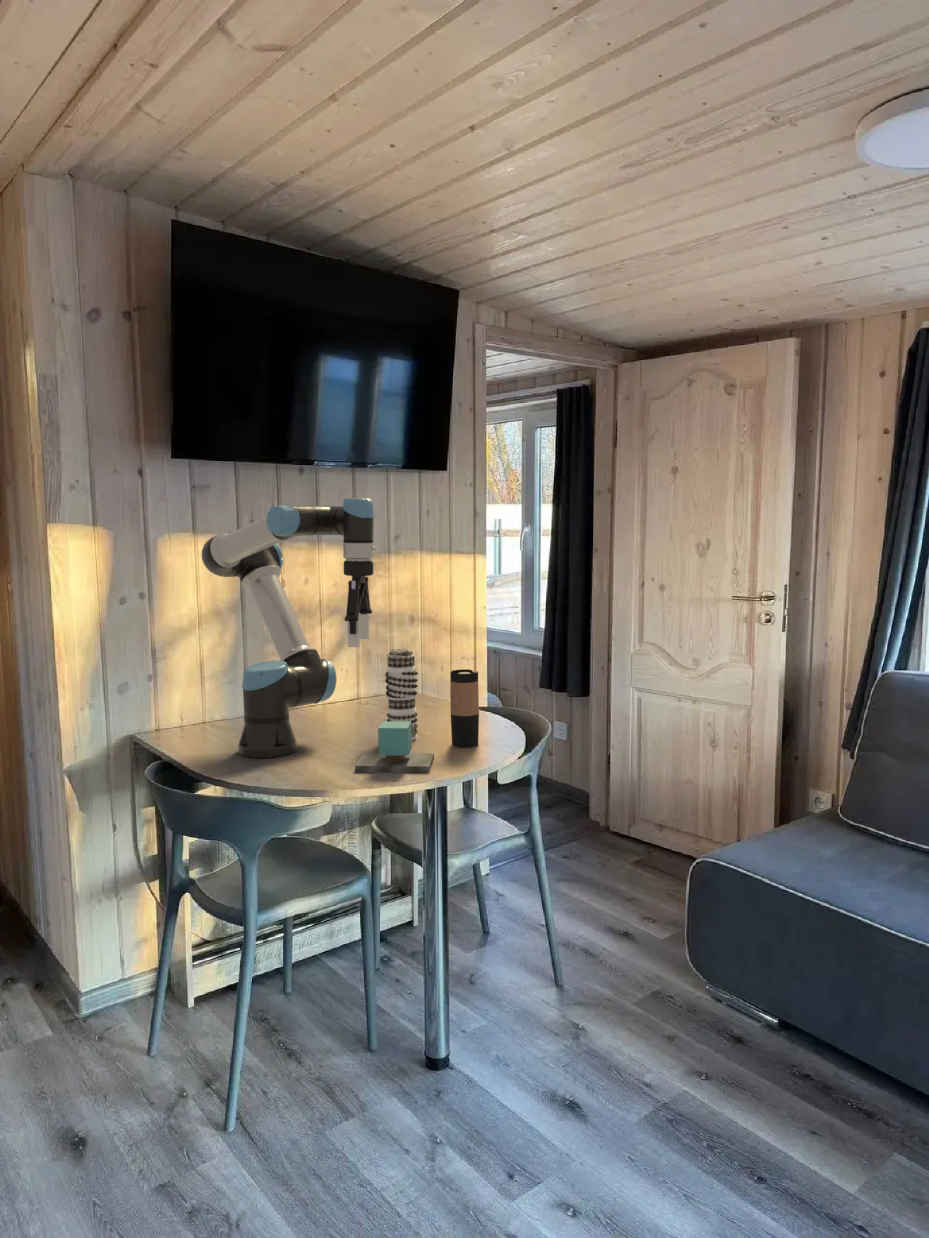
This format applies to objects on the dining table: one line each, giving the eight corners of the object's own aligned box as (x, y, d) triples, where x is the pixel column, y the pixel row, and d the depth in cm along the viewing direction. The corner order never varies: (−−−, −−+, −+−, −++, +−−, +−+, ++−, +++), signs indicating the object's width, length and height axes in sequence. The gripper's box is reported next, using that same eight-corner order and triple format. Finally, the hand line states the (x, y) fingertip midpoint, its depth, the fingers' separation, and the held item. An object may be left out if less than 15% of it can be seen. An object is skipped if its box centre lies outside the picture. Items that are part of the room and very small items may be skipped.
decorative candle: (420, 733, 246) (418, 647, 243) (417, 741, 237) (416, 651, 234) (388, 733, 246) (386, 647, 243) (384, 742, 237) (382, 652, 234)
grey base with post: (355, 771, 208) (354, 733, 207) (363, 758, 220) (363, 722, 219) (429, 772, 207) (428, 733, 206) (434, 759, 219) (433, 722, 218)
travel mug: (449, 747, 230) (448, 673, 228) (453, 740, 238) (452, 669, 235) (477, 748, 229) (476, 674, 227) (480, 741, 236) (480, 669, 234)
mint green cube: (378, 755, 210) (378, 728, 209) (383, 747, 217) (382, 721, 216) (408, 755, 209) (407, 728, 208) (411, 747, 216) (411, 721, 216)
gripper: (364, 563, 205) (364, 650, 208) (381, 557, 229) (381, 635, 232) (333, 562, 205) (333, 650, 208) (353, 556, 230) (353, 635, 233)
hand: (358, 642), depth 220 cm, fingers open, 13 cm apart
